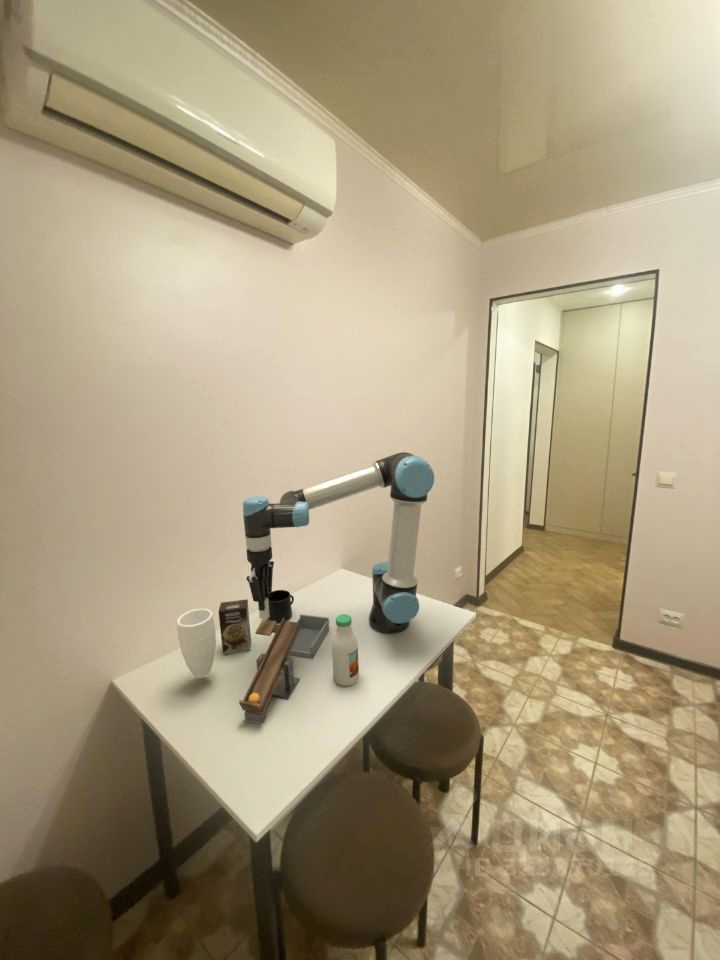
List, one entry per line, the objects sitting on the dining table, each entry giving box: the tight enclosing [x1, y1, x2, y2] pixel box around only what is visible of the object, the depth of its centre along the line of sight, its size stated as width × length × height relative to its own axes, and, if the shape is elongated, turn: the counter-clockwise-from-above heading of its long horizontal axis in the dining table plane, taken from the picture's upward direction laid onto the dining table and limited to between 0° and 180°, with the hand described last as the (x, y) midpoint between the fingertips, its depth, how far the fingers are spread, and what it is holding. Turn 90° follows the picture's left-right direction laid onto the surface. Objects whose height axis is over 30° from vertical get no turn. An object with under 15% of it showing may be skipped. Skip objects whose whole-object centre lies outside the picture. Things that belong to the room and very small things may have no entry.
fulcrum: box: [256, 653, 300, 700], centre depth 113 cm, size 11×8×9 cm
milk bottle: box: [331, 613, 360, 687], centre depth 114 cm, size 8×8×20 cm
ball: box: [248, 693, 260, 704], centre depth 102 cm, size 3×3×3 cm
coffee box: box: [218, 599, 252, 656], centre depth 131 cm, size 9×6×16 cm
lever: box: [238, 618, 302, 714], centre depth 113 cm, size 14×28×5 cm, turn 165°
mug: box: [267, 589, 295, 624], centre depth 151 cm, size 9×12×9 cm
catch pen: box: [288, 614, 330, 659], centre depth 134 cm, size 11×16×5 cm
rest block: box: [244, 711, 267, 724], centre depth 102 cm, size 5×2×2 cm, turn 75°
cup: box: [176, 608, 217, 679], centre depth 115 cm, size 10×10×22 cm
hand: (264, 617), depth 123 cm, fingers closed
